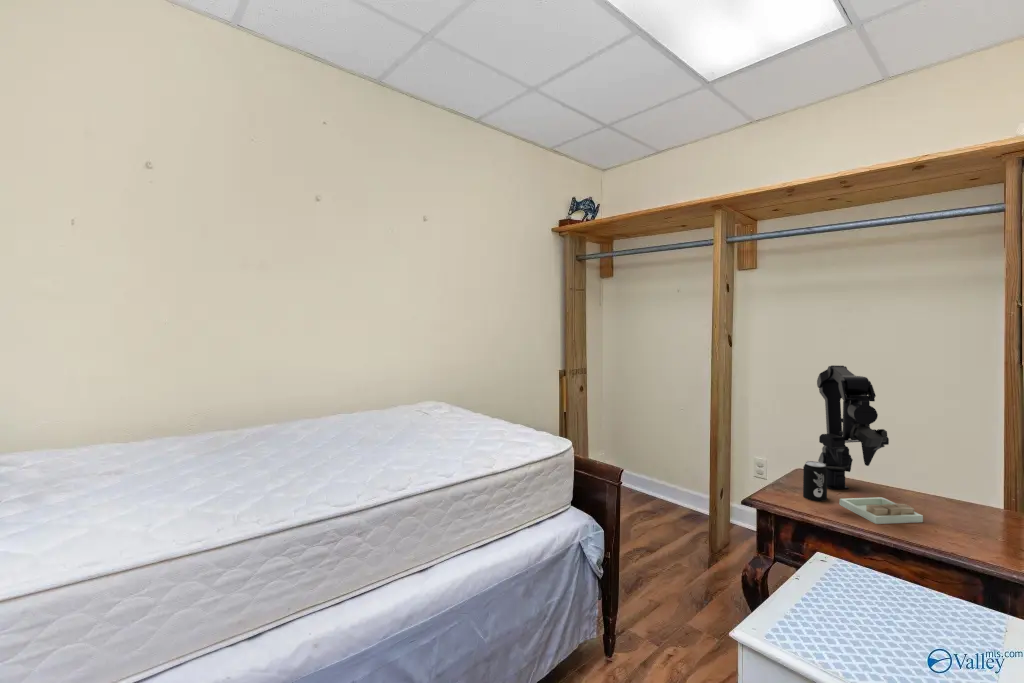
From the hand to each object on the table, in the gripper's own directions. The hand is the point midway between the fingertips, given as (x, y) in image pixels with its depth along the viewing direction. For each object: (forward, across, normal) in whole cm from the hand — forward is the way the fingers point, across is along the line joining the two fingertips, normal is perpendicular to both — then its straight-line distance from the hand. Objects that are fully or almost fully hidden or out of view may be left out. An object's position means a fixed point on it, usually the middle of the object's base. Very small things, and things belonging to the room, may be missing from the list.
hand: (853, 466), depth 145 cm
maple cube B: (+13, +4, -9) cm, 16 cm away
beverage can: (+14, -6, +8) cm, 17 cm away
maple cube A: (+13, 0, -9) cm, 16 cm away
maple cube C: (+13, +8, -10) cm, 18 cm away
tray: (+13, +4, -6) cm, 15 cm away
